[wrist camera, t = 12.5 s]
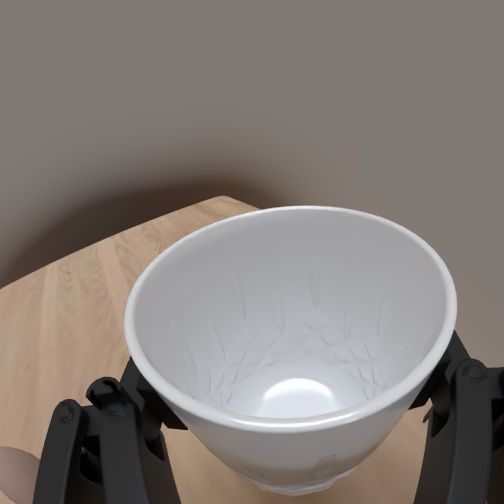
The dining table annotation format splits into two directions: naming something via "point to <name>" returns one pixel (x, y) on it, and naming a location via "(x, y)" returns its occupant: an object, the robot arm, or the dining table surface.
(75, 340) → the dining table surface
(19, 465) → the egg
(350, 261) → the white cup
